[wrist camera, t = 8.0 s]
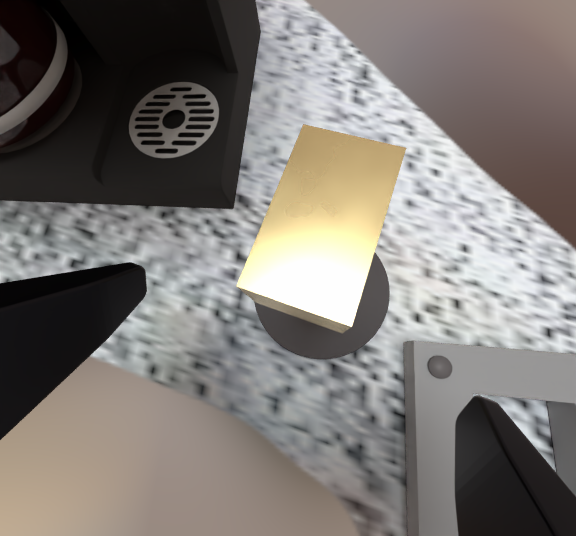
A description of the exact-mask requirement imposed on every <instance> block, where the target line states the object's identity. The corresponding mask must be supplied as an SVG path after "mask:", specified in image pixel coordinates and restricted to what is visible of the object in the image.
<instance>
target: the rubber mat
mask: <svg viewBox="0 0 576 536" xmlns="http://www.w3.org/2000/svg"><path fill="white" fill-rule="evenodd" d="M254 302H255V301H254ZM388 304H389V283H388V278H387V274H386V271H385V269H384V266H383V264H382V262H381V261H380V259H379V257H378V256H377V255H376V253H375V252H374V255H373V259H372V262H371V265H370V268H369V272H368V275H367V278H366V281H365V285H364V288H363V291H362V295H361V298H360V301H359V304H358V308H357V311H356V314H355V318H354V321H353V324H352V327H351V328H349V329H348V330H347V331H345V332H344V333H340V332H337V331H334V330H331V329H328V328H326V327H323V326H320V325H317V324H314V323H312V322H309V321H306V320H303V319H300V318H298V317H295V316H292V315H289V314H286V313H284V312H281V311H278V310H275V309H272V308H270V307H267V306H264V305H261V304H258V303H256V302H255V307H256V311H257V313H258V316H259V319H260V321H261V323H262V325H263V326H264V328H265V329H266V331H267V332H268V333H269V335H270V336H271V337H272V338H273V339H274V340H275V341H276V342H278V343H279V344H280V345H281V346H283V347H284V348H286V349H287V350H289V351H291V352H293V353H295V354H298V355H301V356H304V357H308V358H314V359H330V358H336V357H340V356H344V355H347V354H349V353H352V352H354V351H355V350H357V349H359V348H361V347H362V346H363V345H364V344H366V343H367V342H368V341H369V340H370V339H371V338H372V337H373V336H374V335H375V334H376V332H377V331H378V329H379V328H380V326H381V324H382V322H383V321H384V318H385V316H386V313H387V309H388Z"/></svg>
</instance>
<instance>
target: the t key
mask: <svg viewBox="0 0 576 536" xmlns="http://www.w3.org/2000/svg"><path fill="white" fill-rule="evenodd" d="M405 150H406V148H404V147H400V146H395V145H391V144H387V143H382V142H378V141H374V140H369V139H365V138H361V137H356V136H352V135H348V134H343V133H339V132H335V131H330V130H326V129H322V128H317V127H313V126H309V125H304V124H303V127H302V129H301V131H300V134H299V136H298V139H297V141H296V143H295V146H294V148H293V151H292V153H291V156H290V158H289V160H288V163H287V165H286V168H285V170H284V172H283V175H282V177H281V180H280V182H279V185H278V187H277V189H276V192H275V194H274V197H273V199H272V201H271V204H270V206H269V209H268V211H267V213H266V216H265V218H264V221H263V223H262V226H261V228H260V230H259V233H258V235H257V238H256V240H255V242H254V245H253V247H252V250H251V252H250V255H249V257H248V259H247V262H246V264H245V267H244V269H243V271H242V274H241V276H240V279H239V281H238V284H237V287H238V288H239V289H240V290H242V291H243V292H244V293H245V294H246V295H248V296H249V297H250V298H251V299H252V300H254V301H255V302H256V303H258V304H261V305H264V306H267V307H270V308H272V309H275V310H278V311H281V312H284V313H286V314H289V315H292V316H295V317H298V318H300V319H303V320H306V321H309V322H312V323H314V324H317V325H320V326H323V327H326V328H328V329H331V330H334V331H337V332H340V333H344V332H345V331H347V330H348V329H349V328H351V327H352V324H353V321H354V318H355V314H356V311H357V308H358V304H359V301H360V298H361V295H362V291H363V288H364V285H365V281H366V278H367V275H368V272H369V268H370V265H371V262H372V259H373V255H374V252H375V249H376V245H377V242H378V239H379V236H380V232H381V229H382V226H383V223H384V219H385V216H386V213H387V209H388V206H389V203H390V200H391V196H392V193H393V190H394V186H395V183H396V180H397V177H398V173H399V170H400V167H401V164H402V160H403V157H404V154H405Z"/></svg>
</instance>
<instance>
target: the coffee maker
mask: <svg viewBox="0 0 576 536" xmlns="http://www.w3.org/2000/svg"><path fill="white" fill-rule="evenodd" d="M259 38H260V25H259V19H258V13H257V8H256V2H255V0H0V200H15V201H42V202H68V203H95V204H122V205H148V206H175V207H202V208H229V209H232V208H233V207H234V201H235V194H236V188H237V181H238V175H239V168H240V162H241V155H242V149H243V142H244V136H245V129H246V122H247V116H248V109H249V103H250V96H251V90H252V83H253V77H254V70H255V64H256V57H257V51H258V44H259Z"/></svg>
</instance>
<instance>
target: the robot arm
mask: <svg viewBox="0 0 576 536" xmlns="http://www.w3.org/2000/svg"><path fill="white" fill-rule="evenodd" d="M146 292H147V286H146V272H145V269H144V268H143V267H142V266H140V265H137V264H134V263H130V262H129V263H122V264H116V265H110V266H104V267H98V268H92V269H86V270H79V271H73V272H67V273H61V274H55V275H49V276H43V277H37V278H31V279H24V280H18V281H12V282H6V283H0V440H1V439H2V438H3V437H4V436H5V435H6V434H7V433H8V432H9V431H10V430H11V429H13V428H14V427H15V426H16V425H17V424H18V423H19V422H20V421H21V420H22V419H23V418H24V417H25V416H26V415H27V414H29V413H30V412H31V411H32V410H33V409H34V408H35V407H36V406H37V405H38V404H39V403H40V402H41V401H42V400H43V399H44V398H46V397H47V396H48V395H49V394H50V393H51V392H52V391H53V390H54V389H55V388H56V387H57V386H58V385H59V384H60V383H61V382H62V381H64V380H65V379H66V378H67V377H68V376H69V375H70V374H71V373H72V372H73V371H74V370H75V369H76V368H77V367H78V366H79V365H80V364H81V363H82V362H84V361H85V360H86V359H87V358H88V357H89V356H90V355H91V354H92V353H93V352H94V351H95V350H97V349H98V348H99V347H100V346H101V345H102V344H103V343H104V342H105V341H106V340H107V339H108V338H109V337H110V336H111V335H112V334H113V332H114V331H115V330H116V329H117V328H118V327H119V326H120V325H121V323H122V322H123V321H124V320H125V319H126V318H127V317H128V315H129V314H130V313H131V312H132V311H133V310H134V309H135V307H136V306H137V305H138V304H139V303H140V302H141V301H142V300H143V298H144V297H145V295H146ZM454 484H455V506H456V516H457V527H458V536H576V496H575V495H574V494H573V492H572V491H571V490H570V489H569V488H568V486H567V485H566V484H565V483H564V482H563V480H562V479H561V478H560V477H559V476H558V475H557V473H556V472H555V471H554V470H553V469H552V467H551V466H550V465H549V464H548V463H547V461H546V460H545V459H544V458H543V457H542V455H541V454H540V453H539V452H538V451H537V449H536V448H535V447H534V446H533V445H532V443H531V442H530V441H529V440H528V439H527V438H526V436H525V435H524V434H523V433H522V432H521V430H520V429H519V428H518V427H517V426H516V424H515V423H514V422H513V421H512V420H511V418H510V417H509V416H508V415H507V414H506V412H505V411H504V410H503V409H502V408H501V406H500V405H499V404H498V403H496V402H495V401H492V400H490V399H487V398H485V397H482V396H474V397H473V398H472V399H471V400H470V401H469V402H468V404H467V405H466V406H465V407H464V408H463V410H462V411H461V412H460V413H459V415H458V416H457V419H456V423H455V479H454Z"/></svg>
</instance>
